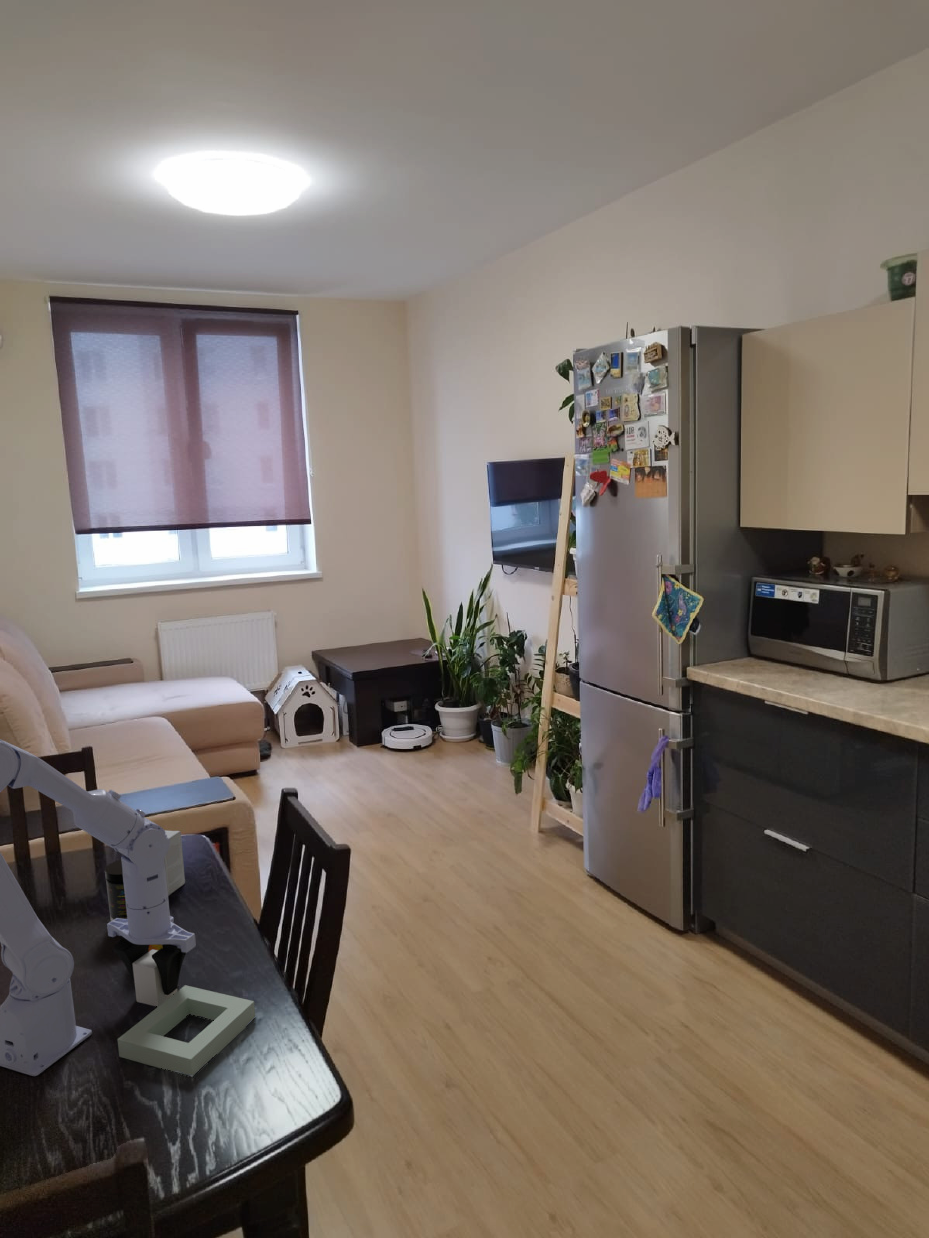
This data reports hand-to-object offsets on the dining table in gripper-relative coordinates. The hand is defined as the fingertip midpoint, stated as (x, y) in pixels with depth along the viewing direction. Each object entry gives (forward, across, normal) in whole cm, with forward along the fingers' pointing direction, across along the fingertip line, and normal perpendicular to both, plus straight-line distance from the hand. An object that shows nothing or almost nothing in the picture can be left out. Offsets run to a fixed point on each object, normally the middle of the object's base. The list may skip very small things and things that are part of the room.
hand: (156, 987), depth 127 cm
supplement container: (+2, +20, -16) cm, 26 cm away
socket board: (+1, -11, +6) cm, 13 cm away
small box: (+2, +25, -28) cm, 38 cm away
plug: (+1, 0, 0) cm, 1 cm away
